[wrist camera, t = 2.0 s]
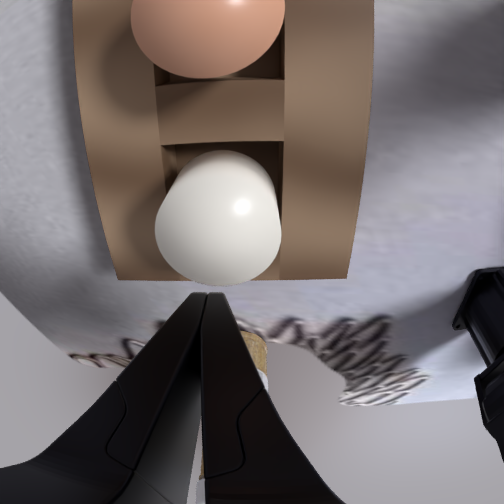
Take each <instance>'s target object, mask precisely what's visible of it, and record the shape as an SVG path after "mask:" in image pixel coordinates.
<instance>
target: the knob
mask: <svg viewBox="0 0 504 504" xmlns="http://www.w3.org/2000/svg"><path fill="white" fill-rule="evenodd" d="M155 237H156V242H157V245H158V248H159V250H160V252H161V254H162V255H163V257H164V259H165V260H166V261H167V262H168V264H169V265H170V266H171V267H172V268H173V269H174V270H176V271H177V272H178V273H180V274H181V275H183V276H184V277H186V278H188V279H190V280H192V281H195V282H197V283H201V284H205V285H210V286H232V285H237V284H241V283H244V282H247V281H249V280H251V279H253V278H255V277H257V276H258V275H260V274H261V273H262V272H264V271H265V270H266V269H267V268H268V267H269V266H270V264H271V263H272V262H273V260H274V259H275V257H276V255H277V253H278V250H279V247H280V243H281V225H280V219H279V212H278V206H277V200H276V194H275V189H274V185H273V182H272V180H271V178H270V176H269V174H268V173H267V172H266V170H265V169H264V168H263V167H262V166H261V165H260V164H259V163H258V162H257V161H255V160H254V159H252V158H250V157H249V156H247V155H244V154H242V153H239V152H235V151H229V150H217V151H211V152H207V153H204V154H201V155H199V156H197V157H195V158H194V159H192V160H191V161H190V162H188V163H187V164H186V165H185V166H184V167H183V168H182V170H181V171H180V172H179V174H178V176H177V178H176V179H175V181H174V183H173V185H172V187H171V188H170V190H169V192H168V194H167V196H166V197H165V199H164V201H163V203H162V205H161V207H160V208H159V211H158V213H157V216H156V221H155Z"/></svg>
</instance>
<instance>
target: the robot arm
mask: <svg viewBox="0 0 504 504" xmlns="http://www.w3.org/2000/svg"><path fill="white" fill-rule="evenodd" d="M452 327H453V329H454V330H461V329H467V330H468V331H469V333H470V335H471V337H472V339H473V340H474V342H475V344H476V346H477V348H478V350H479V352H480V354H481V356H482V358H483V360H484V362H485V363H486V365H487V368H486V369H485V370H484V371H483V372H482V373H481V374H478V375H477V376H476V377H475V378H474V382H475V386H476V392H477V396H478V401H479V406H480V410H481V415H482V420H483V425H484V426H485V428H486V430H488V432H489V433H490V434H491V436H492V437H493V438H495V439H496V441H497V443H498V446H499V449H500V452H501V456H502V459H503V462H504V268H496V269H481V270H479V271H477V272H476V274H475V276H474V278H473V280H472V283H471V285H470V287H469V290H468V292H467V294H466V296H465V298H464V301H463V303H462V305H461V307H460V309H459V311H458V313H457V315H456V317H455V319H454V321H453V323H452ZM201 416H202V417H201ZM201 418H202V419H201ZM200 419H201V420H202V446H203V467H204V479H205V481H204V484H205V504H346V503H344V502H343V501H342V500H341V499H340V498H339V497H338V496H337V495H336V494H335V493H334V492H333V491H332V490H331V489H330V488H329V487H328V486H327V484H326V483H325V482H324V481H323V479H322V478H321V477H320V476H319V474H318V473H317V471H316V470H315V469H314V467H313V466H312V465H311V463H310V462H309V460H308V459H307V457H306V456H305V455H304V453H303V452H302V450H301V449H300V447H299V446H298V445H297V443H296V442H295V440H294V439H293V437H292V436H291V434H290V433H289V431H288V430H287V428H286V426H285V425H284V423H283V421H282V420H281V418H280V416H279V414H278V412H277V411H276V408H275V407H274V404H273V403H272V401H271V398H270V396H269V394H268V392H267V390H266V389H265V386H264V383H263V381H262V379H261V377H260V375H259V372H258V370H257V368H256V366H255V363H254V361H253V359H252V357H251V354H250V352H249V350H248V348H247V345H246V343H245V341H244V338H243V336H242V334H241V332H240V329H239V327H238V325H237V322H236V320H235V318H234V315H233V313H232V311H231V308H230V306H229V303H228V301H227V299H226V296H225V294H224V293H222V292H210V293H209V294H207V293H206V292H193V293H191V294H190V295H189V296H188V297H187V298H186V300H185V301H184V302H183V303H182V304H181V305H180V306H179V307H178V309H177V310H176V311H175V312H174V313H173V314H172V315H171V316H170V318H169V319H168V320H167V321H166V322H165V323H164V324H163V326H162V327H161V328H160V329H159V330H158V331H157V332H156V333H155V335H154V336H153V337H152V338H151V339H150V340H149V341H148V343H147V344H146V345H145V346H144V347H143V348H142V349H141V351H140V352H139V353H138V354H137V355H136V356H135V358H134V359H133V360H132V361H131V362H130V363H129V364H128V366H127V367H126V368H125V369H124V370H123V371H122V372H121V374H120V375H119V376H118V377H117V379H116V381H114V382H113V383H112V384H111V385H110V386H109V387H108V389H107V390H106V391H105V392H104V393H103V394H102V395H101V396H100V397H99V399H98V400H97V401H96V402H95V403H94V404H93V405H92V406H91V407H90V408H89V409H88V410H87V411H86V412H85V413H84V414H83V415H82V416H81V417H80V418H79V419H78V420H77V421H76V422H75V423H74V424H73V425H71V426H70V427H69V428H68V429H67V430H66V431H65V432H64V433H63V434H62V435H61V436H60V437H58V438H57V439H56V440H55V441H54V442H53V443H52V444H51V445H50V446H49V447H48V448H46V449H45V450H44V451H43V452H42V453H40V454H39V455H38V456H36V457H34V458H32V459H31V460H28V461H26V462H23V463H20V464H17V465H12V466H8V467H4V468H0V504H186V503H187V497H188V490H189V484H190V478H191V472H192V465H193V459H194V454H195V448H196V442H197V436H198V430H199V424H200Z"/></svg>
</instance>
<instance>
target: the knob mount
mask: <svg viewBox="0 0 504 504" xmlns="http://www.w3.org/2000/svg"><path fill="white" fill-rule="evenodd" d="M284 1H285V14H284V19H283V24H282V26H281V29H280V32H279V34H278V35H277V37H276V39H275V41H274V42H273V44H272V45H271V46H270V48H269V49H268V50H267V51H266V52H265V53H264V54H263V55H262V56H261V57H260V58H258V59H257V60H256V61H255V62H253V63H251V64H250V65H248V66H247V67H245V68H243V69H241V70H239V71H237V72H234V73H231V74H228V75H224V76H220V77H214V78H189V77H184V76H179V75H176V74H173V73H170V72H168V71H166V70H164V69H162V68H160V67H159V66H157V65H156V64H154V63H153V62H152V61H151V60H150V59H149V58H148V57H147V56H146V55H145V54H144V53H143V52H142V50H141V49H140V47H139V46H138V44H137V42H136V40H135V37H134V35H133V31H132V27H131V7H132V2H133V0H72V11H73V42H74V58H75V70H76V81H77V90H78V99H79V107H80V114H81V121H82V128H83V134H84V140H85V146H86V152H87V157H88V163H89V168H90V173H91V178H92V182H93V187H94V192H95V196H96V201H97V205H98V209H99V213H100V217H101V221H102V225H103V229H104V233H105V237H106V240H107V244H108V248H109V251H110V255H111V258H112V261H113V265H114V268H115V272H116V275H117V278H118V280H147V281H192V280H190V279H188V278H186V277H184V276H183V275H181V274H180V273H178V272H177V271H176V270H174V269H173V268H172V267H171V266H170V265H169V264H168V262H167V261H166V260H165V259H164V257H163V255H162V254H161V252H160V250H159V248H158V245H157V242H156V237H155V221H156V216H157V213H158V211H159V208H160V207H161V205H162V203H163V201H164V199H165V197H166V196H167V194H168V192H169V190H170V188H171V187H172V185H173V183H174V181H175V179H176V178H177V176H178V174H179V172H180V171H181V170H182V168H183V167H184V166H185V165H186V164H187V163H188V162H190V161H191V160H192V159H194V158H195V157H197V156H199V155H201V154H204V153H207V152H211V151H217V150H229V151H235V152H239V153H242V154H244V155H247V156H249V157H250V158H252V159H254V160H255V161H257V162H258V163H259V164H260V165H261V166H262V167H263V168H264V169H265V170H266V172H267V173H268V174H269V176H270V178H271V180H272V182H273V185H274V189H275V194H276V200H277V206H278V212H279V219H280V225H281V243H280V247H279V250H278V253H277V255H276V257H275V259H274V260H273V262H272V263H271V264H270V266H269V267H268V268H267V269H266V270H265V271H264V272H262V273H261V274H260V275H258V276H257V277H255V278H253V279H251V280H309V279H346V278H347V273H348V268H349V263H350V258H351V252H352V247H353V241H354V235H355V229H356V223H357V217H358V211H359V204H360V197H361V190H362V183H363V175H364V167H365V159H366V150H367V140H368V130H369V119H370V107H371V93H372V76H373V53H374V0H284Z"/></svg>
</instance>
